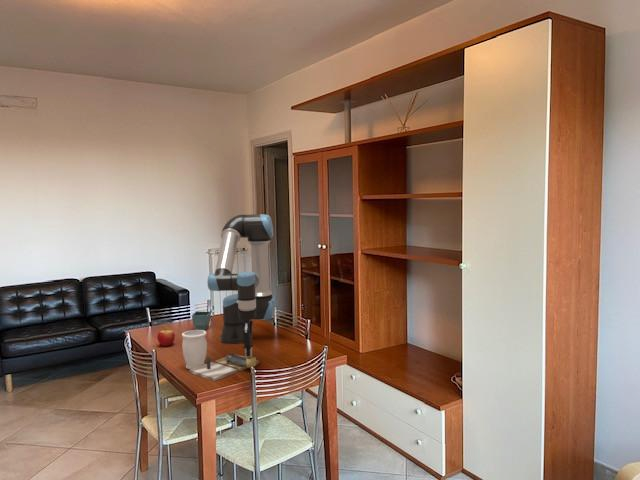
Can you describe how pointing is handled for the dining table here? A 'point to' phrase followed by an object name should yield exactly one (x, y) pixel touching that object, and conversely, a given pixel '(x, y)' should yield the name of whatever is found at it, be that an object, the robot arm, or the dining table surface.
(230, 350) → the dining table surface
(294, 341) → the dining table surface
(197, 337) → the jar
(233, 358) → the latch bar
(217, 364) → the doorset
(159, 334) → the apple
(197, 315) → the flower pot
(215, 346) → the dining table surface
